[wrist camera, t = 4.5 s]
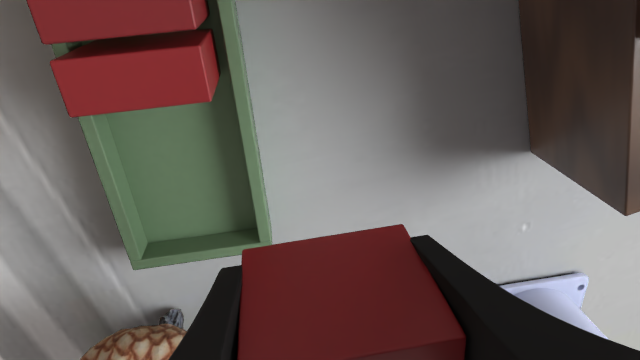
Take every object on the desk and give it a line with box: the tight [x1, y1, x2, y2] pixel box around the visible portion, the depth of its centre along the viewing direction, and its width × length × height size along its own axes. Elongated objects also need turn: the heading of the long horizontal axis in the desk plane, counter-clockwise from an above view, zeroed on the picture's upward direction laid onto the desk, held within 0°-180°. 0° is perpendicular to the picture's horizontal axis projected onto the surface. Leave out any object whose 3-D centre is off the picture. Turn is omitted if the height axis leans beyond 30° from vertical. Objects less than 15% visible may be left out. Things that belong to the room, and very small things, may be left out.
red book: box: [237, 224, 466, 360], centre depth 11 cm, size 2×5×4 cm, turn 96°
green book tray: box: [51, 0, 272, 270], centre depth 19 cm, size 15×7×2 cm, turn 5°
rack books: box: [26, 0, 221, 118], centre depth 16 cm, size 4×5×4 cm
